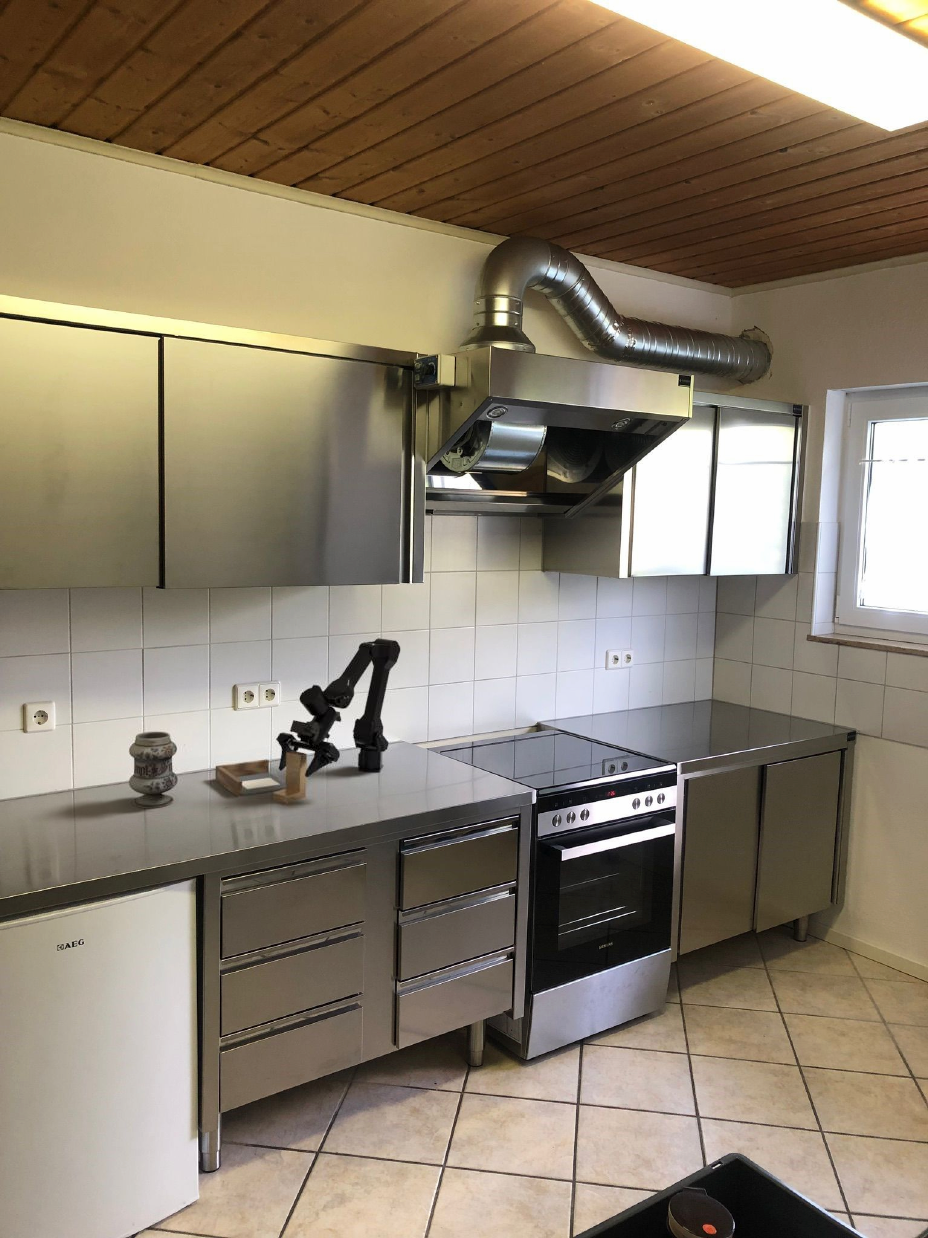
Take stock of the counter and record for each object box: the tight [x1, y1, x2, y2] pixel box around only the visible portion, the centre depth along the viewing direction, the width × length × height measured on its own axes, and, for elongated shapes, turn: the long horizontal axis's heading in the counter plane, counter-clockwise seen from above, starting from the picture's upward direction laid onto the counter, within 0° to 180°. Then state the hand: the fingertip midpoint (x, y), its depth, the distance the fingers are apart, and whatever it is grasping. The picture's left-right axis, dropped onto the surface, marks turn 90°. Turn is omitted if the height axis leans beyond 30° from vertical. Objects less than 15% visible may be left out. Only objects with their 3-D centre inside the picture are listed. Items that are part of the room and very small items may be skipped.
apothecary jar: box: [128, 731, 178, 809], centre depth 249 cm, size 12×12×18 cm
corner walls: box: [215, 759, 270, 797], centre depth 268 cm, size 15×17×4 cm
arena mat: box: [237, 772, 286, 797], centre depth 268 cm, size 14×16×1 cm
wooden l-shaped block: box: [272, 751, 308, 805], centre depth 257 cm, size 8×5×12 cm, turn 148°
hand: (292, 773), depth 258 cm, fingers open, 9 cm apart
